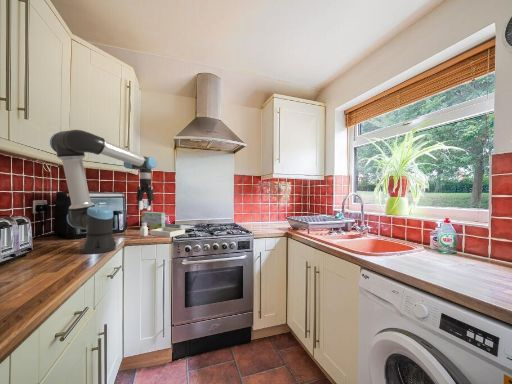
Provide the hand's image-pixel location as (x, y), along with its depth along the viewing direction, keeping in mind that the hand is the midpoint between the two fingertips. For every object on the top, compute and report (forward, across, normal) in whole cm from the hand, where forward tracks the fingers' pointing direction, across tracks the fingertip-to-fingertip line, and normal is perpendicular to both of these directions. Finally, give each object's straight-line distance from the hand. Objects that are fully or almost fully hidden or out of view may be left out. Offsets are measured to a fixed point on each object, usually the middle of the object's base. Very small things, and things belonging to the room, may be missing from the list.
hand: (144, 209), depth 163 cm
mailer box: (+19, -10, -13) cm, 25 cm away
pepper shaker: (+19, 0, 0) cm, 19 cm away
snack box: (+19, +17, -24) cm, 35 cm away
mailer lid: (+15, -10, -25) cm, 31 cm away
